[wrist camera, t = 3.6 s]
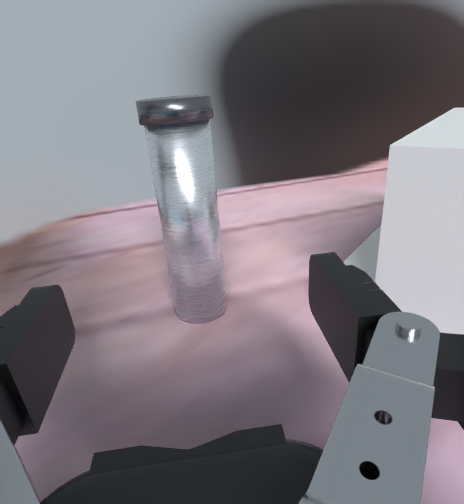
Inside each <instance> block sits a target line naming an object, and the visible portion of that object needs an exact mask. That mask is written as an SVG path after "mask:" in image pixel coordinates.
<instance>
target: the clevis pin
mask: <svg viewBox="0 0 464 504" xmlns="http://www.w3.org/2000/svg"><path fill="white" fill-rule="evenodd" d="M136 106H137V112H138V118H139V123H140V125H144V128H145V133H146V139H147V145H148V151H149V157H150V163H151V168H152V174H153V181H154V186H155V192H156V198H157V204H158V210H159V216H160V222H161V228H162V234H163V240H164V245H165V251H166V257H167V263H168V269H169V275H170V281H171V287H172V293H173V298H174V304H175V310H176V314H177V316H178V317H179V318H180V319H181V320H183V321H186V322H190V323H205V322H209V321H212V320H215V319H217V318H219V317H220V316H222V315H223V314H224V313H225V311H226V309H227V296H226V285H225V275H224V264H223V254H222V243H221V233H220V222H219V211H218V201H217V190H216V180H215V169H214V159H213V150H212V149H213V148H212V138H211V127H210V119H212V118H213V117H214V116H213V104H212V95H209V94H203V95H184V96H172V97H161V98H152V99H145V100H139V101H136Z"/></svg>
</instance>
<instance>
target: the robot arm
mask: <svg viewBox="0 0 464 504" xmlns="http://www.w3.org/2000/svg"><path fill="white" fill-rule="evenodd" d="M309 304H310V308H311V312H312V314H313V316H314V318H315V320H316V322H317V324H318V325H319V327H320V329H321V331H322V333H323V335H324V337H325V338H326V340H327V342H328V344H329V346H330V348H331V350H332V351H333V353H334V355H335V357H336V359H337V361H338V363H339V364H340V366H341V368H342V370H343V372H344V374H345V375H346V377H347V379H348V381H349V386H348V388H347V391H346V393H345V396H344V399H343V401H342V404H341V406H340V409H339V412H338V414H337V417H336V419H335V422H334V424H333V427H332V430H331V432H330V435H329V437H328V440H327V442H326V445H325V448H324V450H323V449H321V448H319V447H317V446H314V445H311V444H308V443H305V442H301V441H296V440H290V439H285V436H284V432H283V429H282V425H281V424H279V425H272V426H266V427H259V428H253V429H246V430H240V431H235V432H233V433H230V434H228V435H225V436H223V437H220V438H218V439H215V440H213V441H210V442H208V443H205V444H203V445H201V446H198V447H196V448H193V449H174V448H162V447H151V446H136V447H130V448H123V449H117V450H110V451H104V452H97V453H94V456H93V460H92V464H91V468H90V471H87V472H85V473H83V474H81V475H79V476H77V477H75V478H73V479H71V480H70V481H68V482H67V483H65V484H64V485H62V486H60V487H59V488H58V489H56V490H55V491H54V492H52V493H51V494H50V495H49V496H47V497H46V498H45V499H44V500H43V501H42V502H41V500H40V497H39V495H38V493H37V491H36V489H35V487H34V485H33V483H32V481H31V479H30V477H29V475H28V472H27V470H26V468H25V466H24V464H23V462H22V460H21V458H20V456H19V454H18V452H17V450H16V448H15V446H14V445H15V443H16V441H17V438H18V436H22V435H28V434H35V433H38V431H39V429H40V426H41V424H42V421H43V419H44V416H45V414H46V411H47V409H48V407H49V404H50V402H51V399H52V397H53V394H54V392H55V389H56V387H57V385H58V382H59V380H60V377H61V375H62V372H63V370H64V367H65V365H66V363H67V360H68V358H69V355H70V353H71V350H72V348H73V345H74V341H75V329H74V325H73V321H72V318H71V315H70V312H69V309H68V306H67V303H66V300H65V297H64V294H63V291H62V289H61V287H60V286H59V285H52V286H44V287H36V288H31V289H30V290H29V292H28V293H27V295H26V296H25V297H24V299H23V300H22V302H21V303H20V304H19V305H17V306H14V307H13V308H11V309H10V310H9V311H7V312H6V313H5V314H3V315H2V316H1V317H0V504H420V501H421V493H422V485H423V478H424V470H425V462H426V454H427V447H428V439H429V431H430V423H431V418H437V419H445V420H453V421H458V423H459V424H460V425H461V427H462V428H463V430H464V335H463V334H451V333H441V332H439V329H438V328H437V326H436V325H435V324H434V323H433V322H431V321H430V320H428V319H427V318H425V317H422V316H420V315H417V314H414V313H409V312H402V311H401V310H400V309H399V308H398V307H397V305H396V304H395V303H394V302H393V301H392V300H391V299H390V298H389V297H388V296H387V295H386V294H385V292H384V291H383V290H380V287H379V286H378V285H377V284H376V283H375V282H373V279H372V278H371V277H370V276H369V275H368V274H367V273H366V272H365V271H363V270H361V269H359V268H357V267H355V266H353V265H345V264H344V263H343V261H342V260H341V259H340V258H339V257H338V256H337V254H336V253H334V252H331V253H323V254H315V255H311V256H310V261H309Z"/></svg>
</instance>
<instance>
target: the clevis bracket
mask: <svg viewBox="0 0 464 504" xmlns="http://www.w3.org/2000/svg"><path fill="white" fill-rule="evenodd" d="M343 263H344V264H345V265H353V266H355V267H357V268H359V269H361V270H363V271H365V272H366V273H367V274H368V275H369V276H370V277H371V278H372V279H373V282H375V283H376V284H377V285H378V286H379V287H380V290H383V291H384V292H385V294H386V295H387V296H388V297H389V298H390V299H391V300H392V301H393V302H394V303H395V304H396V305H397V307H398V308H399V309H400V310H401V311H402V312H409V313H414V314H417V315H420V316H422V317H425V318H427V319H428V320H430V321H431V322H433V323H434V324H435V325H436V326H437V328H438V329H439V332H441V333H451V334H463V335H464V108H454V109H452V110H450V111H448V112H447V113H445V114H443V115H442V116H440V117H438V118H436V119H435V120H433V121H431V122H429V123H428V124H426V125H424V126H423V127H421V128H419V129H418V130H416V131H414V132H412V133H410V134H409V135H407V136H405V137H404V138H402V139H400V140H398V141H397V142H395V143H393V144H391V145H390V151H389V160H388V169H387V178H386V187H385V196H384V205H383V214H382V223H381V225H380V226H379V227H378V228H377V229H376V230H375V231H374V232H373V233H372V234H371V235H370V236H369V237H368V238H367V239H366V240H365V241H364V242H363V243H362V244H361V245H360V246H359V247H358V248H357V249H356V250H355V251H354V252H353V253H352V254H351V255H350V256H349V257H348V258H347V259H346V260H345V261H344V262H343Z"/></svg>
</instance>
